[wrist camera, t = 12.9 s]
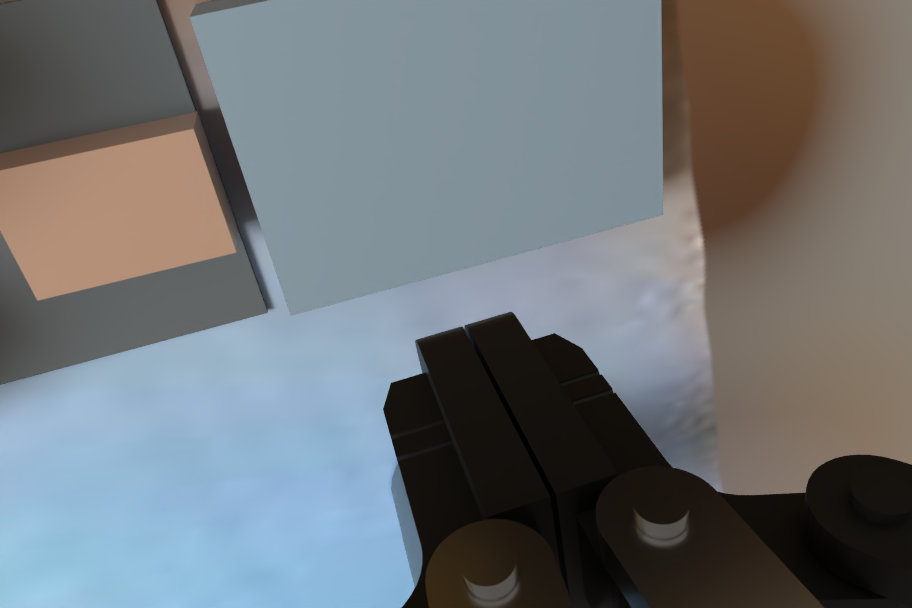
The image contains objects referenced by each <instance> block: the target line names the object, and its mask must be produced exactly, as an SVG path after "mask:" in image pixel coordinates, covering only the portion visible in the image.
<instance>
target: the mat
mask: <svg viewBox="0 0 912 608" xmlns="http://www.w3.org/2000/svg"><path fill="white" fill-rule="evenodd" d="M193 112H197V111H196V109H195V106H194V103H193V100H192V98H191V95H190V92H189V89H188V86H187V84H186V81H185V78H184V75H183V72H182V70H181V67H180V64H179V61H178V58H177V56H176V53H175V50H174V47H173V44H172V42H171V39H170V36H169V33H168V30H167V28H166V25H165V22H164V19H163V16H162V14H161V11H160V8H159V5H158V2H157V0H19V1H14V2H9V3H4V4H0V153H4V152H9V151H14V150H18V149H23V148H28V147H33V146H37V145H42V144H47V143H51V142H56V141H61V140H65V139H70V138H75V137H80V136H84V135H89V134H94V133H98V132H103V131H108V130H113V129H117V128H122V127H127V126H131V125H136V124H141V123H146V122H150V121H155V120H160V119H164V118H169V117H174V116H178V115H183V114H188V113H193ZM221 182H222V181H221ZM222 185H223V184H222ZM223 188H224V187H223ZM224 191H225V190H224ZM225 194H226V193H225ZM226 197H227V195H226ZM227 200H228V198H227ZM228 202H229V201H228ZM229 205H230V204H229ZM230 208H231V207H230ZM231 211H232V209H231ZM232 214H233V212H232ZM233 217H234V215H233ZM234 220H235V218H234ZM235 223H236V221H235ZM236 226H237V223H236ZM265 313H268V310H267V307H266V304H265V302H264V299H263V296H262V293H261V290H260V288H259V285H258V282H257V279H256V276H255V274H254V271H253V268H252V265H251V262H250V260H249V257H248V254H247V251H246V248H245V246H244V243H243V240H242V237H241V234H240V232H239V229H238V226H237V253H233V254H228V255H224V256H220V257H216V258H212V259H208V260H204V261H200V262H195V263H191V264H187V265H183V266H179V267H175V268H171V269H166V270H162V271H158V272H154V273H150V274H146V275H142V276H138V277H133V278H129V279H125V280H121V281H117V282H113V283H109V284H105V285H100V286H96V287H92V288H88V289H84V290H80V291H76V292H71V293H67V294H63V295H59V296H55V297H51V298H47V299H43V300H38V301H37V299H36V297H35V295H34V293H33V291H32V289H31V288H30V286H29V284H28V282H27V280H26V278H25V276H24V274H23V273H22V271H21V269H20V267H19V265H18V263H17V261H16V259H15V258H14V256H13V254H12V252H11V250H10V248H9V246H8V244H7V243H6V241H5V239H4V237H3V235H2V233H1V231H0V385H1V384H5V383H8V382H12V381H16V380H19V379H23V378H27V377H31V376H34V375H38V374H42V373H45V372H49V371H53V370H57V369H60V368H64V367H68V366H71V365H75V364H79V363H83V362H86V361H90V360H94V359H97V358H101V357H105V356H109V355H112V354H116V353H120V352H123V351H127V350H131V349H135V348H138V347H142V346H146V345H149V344H153V343H157V342H161V341H164V340H168V339H172V338H175V337H179V336H183V335H187V334H190V333H194V332H198V331H201V330H205V329H209V328H213V327H216V326H220V325H224V324H227V323H231V322H235V321H239V320H242V319H246V318H250V317H253V316H257V315H261V314H265Z"/></svg>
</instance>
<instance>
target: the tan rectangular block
mask: <svg viewBox="0 0 912 608" xmlns="http://www.w3.org/2000/svg"><path fill="white" fill-rule="evenodd" d="M0 231H1V233H2V235H3V237H4V239H5V241H6V243H7V244H8V246H9V248H10V250H11V252H12V254H13V256H14V258H15V259H16V261H17V263H18V265H19V267H20V269H21V271H22V273H23V274H24V276H25V278H26V280H27V282H28V284H29V286H30V288H31V289H32V291H33V293H34V295H35V297H36V299H37V301H38V300H43V299H47V298H51V297H55V296H59V295H63V294H67V293H71V292H76V291H80V290H84V289H88V288H92V287H96V286H100V285H105V284H109V283H113V282H117V281H121V280H125V279H129V278H133V277H138V276H142V275H146V274H150V273H154V272H158V271H162V270H166V269H171V268H175V267H179V266H183V265H187V264H191V263H195V262H200V261H204V260H208V259H212V258H216V257H220V256H224V255H228V254H233V253H237V226H236V223H235V220H234V217H233V214H232V211H231V208H230V205H229V202H228V200H227V197H226V194H225V191H224V188H223V185H222V182H221V179H220V176H219V173H218V170H217V167H216V164H215V161H214V158H213V155H212V153H211V150H210V147H209V144H208V141H207V138H206V135H205V132H204V129H203V126H202V123H201V120H200V117H199V114H198V111H197V112H193V113H188V114H183V115H178V116H174V117H169V118H164V119H160V120H155V121H150V122H146V123H141V124H136V125H131V126H127V127H122V128H117V129H113V130H108V131H103V132H98V133H94V134H89V135H84V136H80V137H75V138H70V139H65V140H61V141H56V142H51V143H47V144H42V145H37V146H33V147H28V148H23V149H18V150H14V151H9V152H4V153H0Z"/></svg>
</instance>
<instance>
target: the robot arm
mask: <svg viewBox="0 0 912 608" xmlns="http://www.w3.org/2000/svg"><path fill="white" fill-rule="evenodd" d="M415 343H416V348H417V352H418V357H419V361H420V365H421V369H422V373H423V374H419V375H416V376H413V377H409V378H406V379H403V380H399V381H396V382H393V383H391V385H390V388H389V392H388V395H387V398H386V402H385V405H384V408H383V410H384V414H385V418H386V421H387V425H388V428H389V432H390V436H391V439H392V443H393V446H394V450H395V454H396V457H397V461H398V465H397V466H396V469H395V472H394V475H393V478H392V494H393V499H394V503H395V508H396V512H397V516H398V520H399V524H400V528H401V532H402V537H403V542H404V546H405V550H406V554H407V558H408V562H409V566H410V570H411V574H412V578H413V582H414V586H415V589H414V591H413V593H412V595H411V596H410V597H409V599H408V600H407V602H406V603H405V604H404V606H403V607H402V608H912V465H911V464H908V463H904V462H901V461H897V460H894V459H890V458H885V457H880V456H872V455H849V456H843V457H839V458H835V459H833V460H830V461H828V462H826V463H824V464H822V465H821V466H819V467H818V468H817V469H816V470H815V471H814V472H813V473H812V475H811V477H810V478H809V480H808V484H807V487H806V493H790V494H769V495H732V494H725V493H721V492H717V491H716V490H715V489H714V488H713V487H712V486H711V485H710V484H709V483H707V482H706V481H704V480H703V479H701V478H700V477H698V476H696V475H694V474H692V473H690V472H687V471H684V470H681V469H677V468H672V467H671V465H670V464H669V463H668V462H667V461H666V460H665V458H664V457H663V456H662V454H661V453H660V452H659V450H658V449H657V448H656V446H655V445H654V444H653V442H652V441H651V440H650V438H649V437H648V436H647V434H646V433H645V432H644V430H643V429H642V428H641V426H640V425H639V424H638V422H637V421H636V420H635V418H634V417H633V416H632V414H631V413H630V412H629V410H628V409H627V408H626V406H625V405H624V404H623V402H622V401H621V400H620V398H619V397H618V396H617V394H616V393H613V391H612V388H611V386H610V385H609V384H608V382H607V381H606V380H605V378H604V377H603V376H602V374H601V375H600V374H599V371H598V369H597V368H596V366H595V365H594V364H593V362H592V361H591V360H590V358H589V357H588V356H587V354H586V353H585V352H584V350H583V349H582V348H581V347H579V346H577V345H575V344H573V343H571V342H570V341H568V340H566V339H564V338H562V337H560V336H559V335H557V334H555V333H554V334H551V335H548V336H544V337H541V338H538V339H534V340H531V339H530V337H529V336H528V334H527V333H526V331H525V330H524V328H523V327H522V325H521V324H520V322H519V321H518V319H517V317H516V316H515V315H514V313H512V312H508V313H505V314H502V315H498V316H495V317H491V318H488V319H485V320H481V321H478V322H475V323H471V324H468V325H465V330H464V328H463V327H458V328H455V329H452V330H448V331H445V332H441V333H438V334H435V335H431V336H428V337H424V338H421V339H418V340H415Z"/></svg>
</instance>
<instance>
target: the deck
mask: <svg viewBox="0 0 912 608" xmlns="http://www.w3.org/2000/svg"><path fill="white" fill-rule="evenodd" d="M190 20H191V23H192V26H193V29H194V31H195V34H196V37H197V40H198V43H199V46H200V49H201V52H202V55H203V58H204V61H205V64H206V67H207V70H208V73H209V76H210V79H211V82H212V85H213V88H214V90H215V93H216V96H217V99H218V102H219V105H220V108H221V111H222V114H223V117H224V120H225V123H226V126H227V129H228V132H229V135H230V138H231V141H232V144H233V147H234V150H235V152H236V155H237V158H238V161H239V164H240V167H241V170H242V173H243V176H244V179H245V182H246V185H247V188H248V191H249V194H250V197H251V200H252V203H253V206H254V209H255V211H256V214H257V217H258V220H259V223H260V226H261V229H262V232H263V235H264V238H265V241H266V244H267V247H268V250H269V253H270V256H271V259H272V262H273V265H274V268H275V270H276V273H277V276H278V279H279V282H280V285H281V288H282V291H283V294H284V297H285V300H286V303H287V306H288V309H289V312H290V315H295V314H299V313H302V312H306V311H310V310H314V309H317V308H321V307H325V306H328V305H332V304H336V303H339V302H343V301H347V300H350V299H354V298H358V297H361V296H365V295H369V294H373V293H376V292H380V291H384V290H387V289H391V288H395V287H398V286H402V285H406V284H409V283H413V282H417V281H421V280H424V279H428V278H432V277H435V276H439V275H443V274H446V273H450V272H454V271H457V270H461V269H465V268H468V267H472V266H476V265H480V264H483V263H487V262H491V261H494V260H498V259H502V258H505V257H509V256H513V255H516V254H520V253H524V252H527V251H531V250H535V249H539V248H542V247H546V246H550V245H553V244H557V243H561V242H564V241H568V240H572V239H575V238H579V237H583V236H587V235H590V234H594V233H598V232H601V231H605V230H609V229H612V228H616V227H620V226H623V225H627V224H631V223H634V222H638V221H642V220H646V219H649V218H653V217H657V216H660V215H663V122H662V14H661V0H216V1H211V2H206V3H202V4H197V5H195V7H194V9H193V11H192V13H191V15H190Z"/></svg>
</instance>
